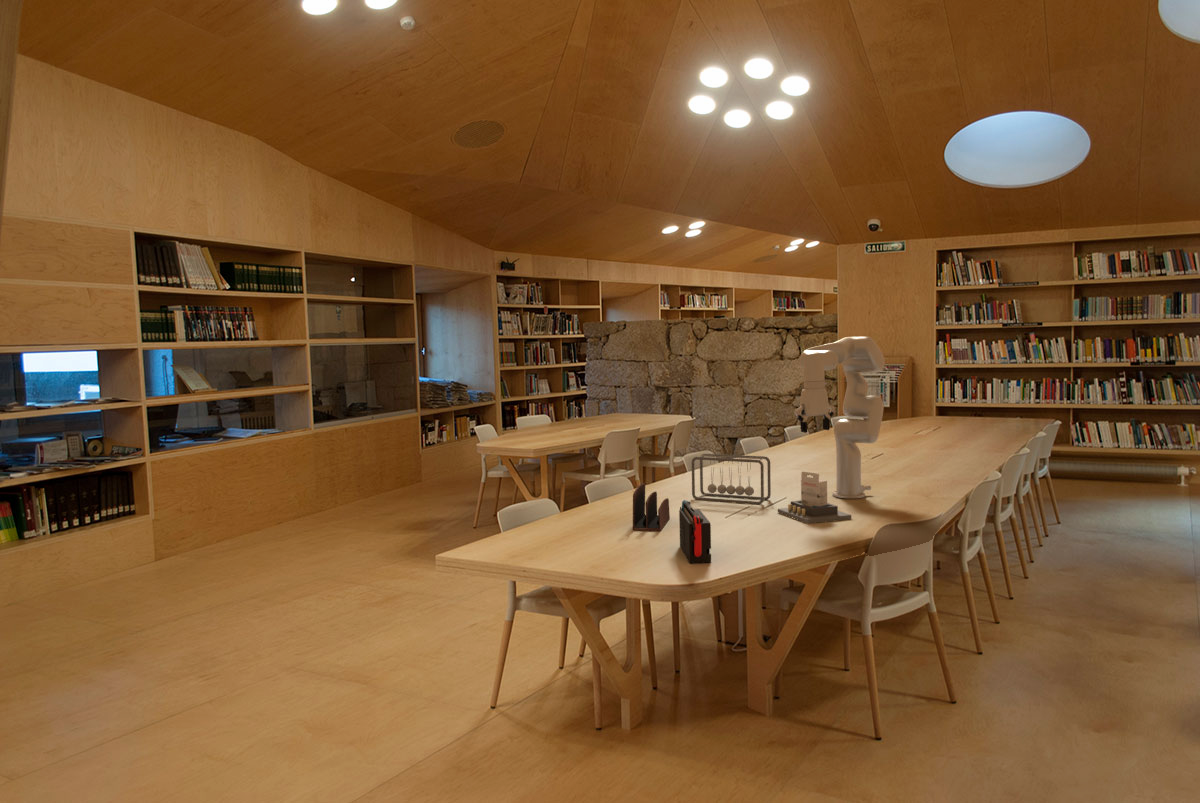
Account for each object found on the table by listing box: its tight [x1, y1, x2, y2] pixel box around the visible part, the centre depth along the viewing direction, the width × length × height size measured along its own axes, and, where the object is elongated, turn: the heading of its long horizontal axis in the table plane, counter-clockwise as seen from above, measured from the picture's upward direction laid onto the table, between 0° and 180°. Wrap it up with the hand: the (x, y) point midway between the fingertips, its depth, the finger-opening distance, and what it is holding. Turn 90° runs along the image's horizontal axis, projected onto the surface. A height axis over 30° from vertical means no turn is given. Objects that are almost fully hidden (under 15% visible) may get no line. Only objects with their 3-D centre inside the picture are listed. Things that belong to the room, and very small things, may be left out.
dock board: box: [777, 499, 852, 524], centre depth 296 cm, size 18×20×4 cm
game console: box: [678, 499, 712, 565], centre depth 248 cm, size 28×6×15 cm, turn 3°
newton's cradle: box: [691, 453, 772, 505], centre depth 329 cm, size 30×10×18 cm, turn 62°
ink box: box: [800, 470, 828, 508], centre depth 296 cm, size 8×5×15 cm, turn 36°
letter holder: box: [632, 483, 671, 532], centre depth 289 cm, size 10×20×14 cm, turn 166°
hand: (815, 430), depth 304 cm, fingers open, 9 cm apart
